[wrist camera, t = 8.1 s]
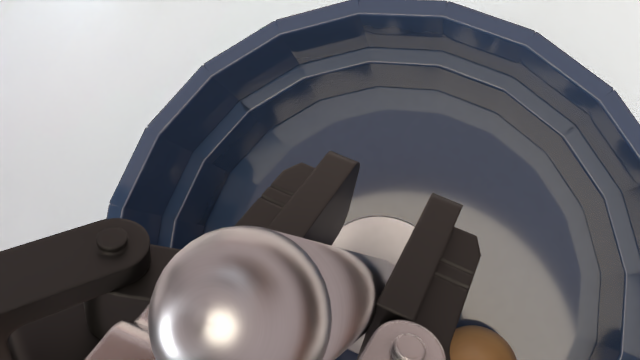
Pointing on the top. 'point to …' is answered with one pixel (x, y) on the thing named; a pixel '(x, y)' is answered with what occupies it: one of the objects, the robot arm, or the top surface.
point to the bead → (479, 345)
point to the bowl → (422, 157)
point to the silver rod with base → (273, 293)
